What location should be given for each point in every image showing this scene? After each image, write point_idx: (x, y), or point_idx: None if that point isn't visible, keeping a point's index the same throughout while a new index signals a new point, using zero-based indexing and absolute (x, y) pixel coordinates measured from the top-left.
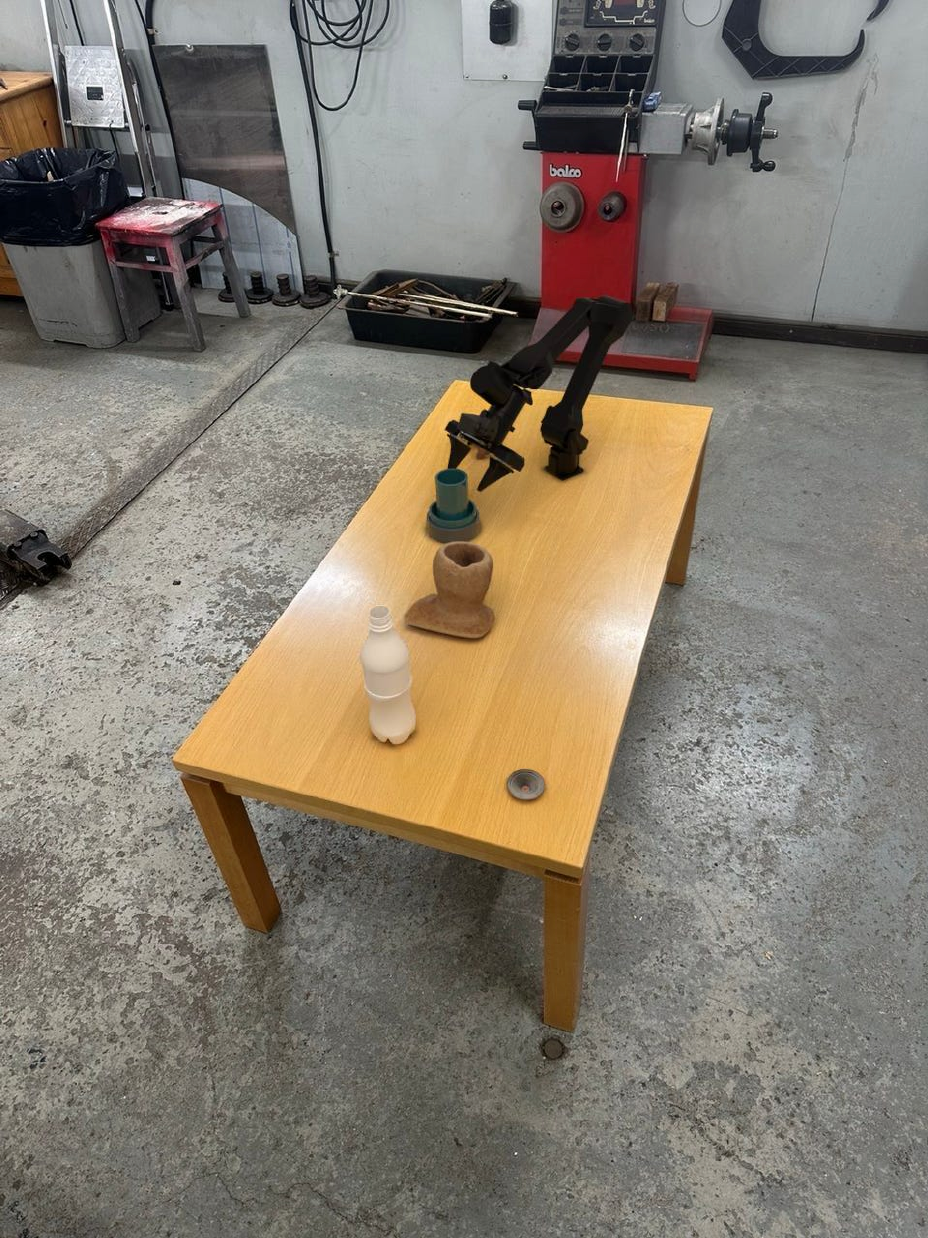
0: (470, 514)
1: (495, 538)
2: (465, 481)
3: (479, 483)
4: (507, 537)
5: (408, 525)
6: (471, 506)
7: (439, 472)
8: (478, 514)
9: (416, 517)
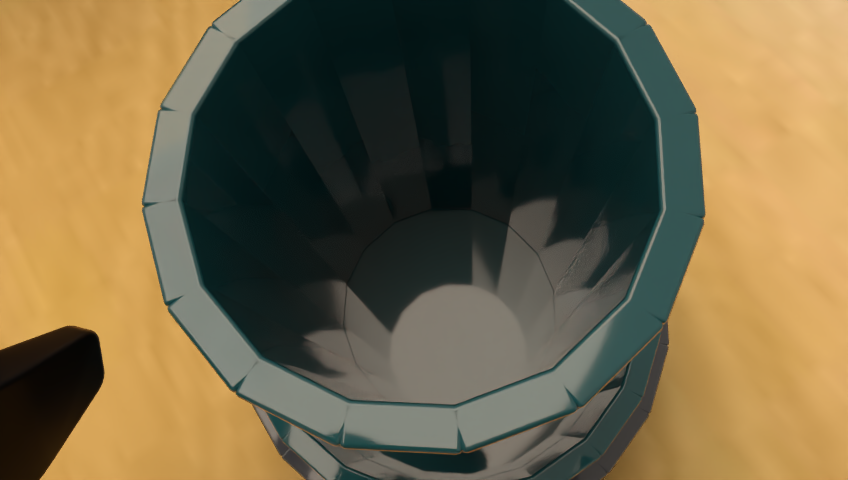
0: (385, 462)
1: (149, 387)
2: (146, 190)
3: (17, 371)
4: (82, 442)
5: (732, 192)
6: (359, 467)
7: (674, 158)
8: (271, 428)
9: (761, 296)
